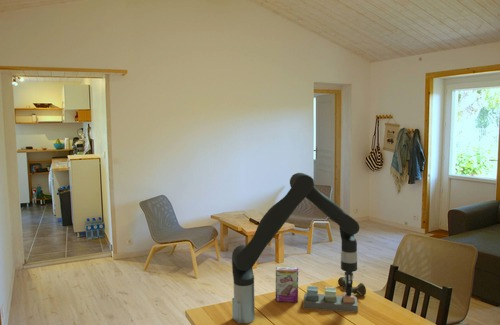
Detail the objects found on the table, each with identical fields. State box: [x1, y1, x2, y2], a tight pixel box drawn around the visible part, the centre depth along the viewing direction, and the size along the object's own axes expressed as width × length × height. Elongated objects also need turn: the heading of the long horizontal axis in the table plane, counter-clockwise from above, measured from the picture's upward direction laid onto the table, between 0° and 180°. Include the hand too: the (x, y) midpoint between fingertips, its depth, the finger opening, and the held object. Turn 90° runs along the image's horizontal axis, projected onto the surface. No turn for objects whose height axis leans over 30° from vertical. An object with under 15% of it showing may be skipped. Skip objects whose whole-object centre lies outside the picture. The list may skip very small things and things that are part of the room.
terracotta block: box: [342, 291, 355, 304], centre depth 192 cm, size 5×5×5 cm
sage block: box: [324, 286, 337, 302], centre depth 193 cm, size 5×5×5 cm
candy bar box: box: [275, 266, 299, 303], centre depth 199 cm, size 11×5×16 cm, turn 84°
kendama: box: [337, 276, 367, 296], centre depth 207 cm, size 6×10×20 cm
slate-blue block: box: [306, 285, 319, 301], centre depth 195 cm, size 5×5×5 cm
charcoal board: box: [303, 292, 359, 313], centre depth 193 cm, size 10×25×3 cm, turn 79°
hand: (348, 294), depth 191 cm, fingers closed
